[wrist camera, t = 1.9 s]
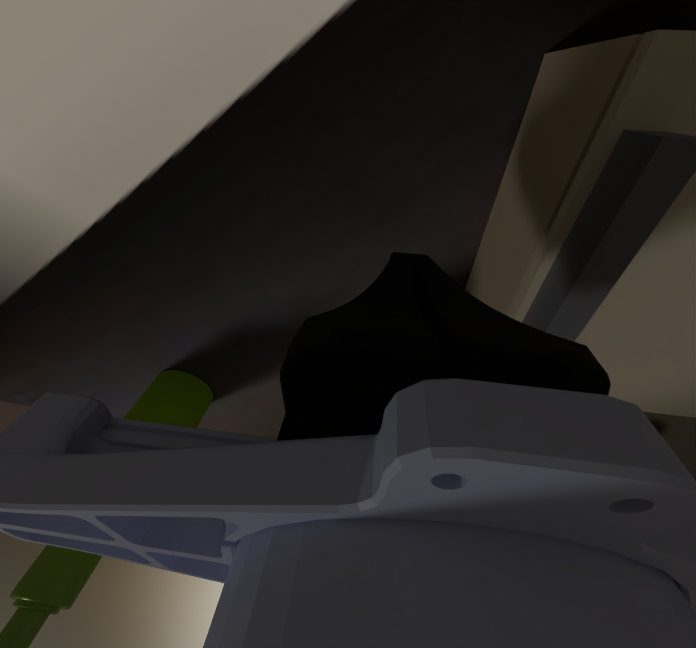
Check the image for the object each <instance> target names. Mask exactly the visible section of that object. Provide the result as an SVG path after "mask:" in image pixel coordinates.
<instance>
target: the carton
mask: <svg viewBox="0 0 696 648" xmlns="http://www.w3.org/2000/svg"><path fill="white" fill-rule="evenodd" d="M643 35H644V34H635V35H631V36H626V37H621V38H616V39H612V40H607V41H602V42H597V43H593V44H588V45H583V46H579V47H574V48H569V49H564V50H560V51H555V52H550V53H545V55H544V58H543V61H542V64H541V67H540V70H539V73H538V76H537V79H536V82H535V85H534V88H533V91H532V94H531V97H530V100H529V103H528V105H527V108H526V111H525V114H524V117H523V120H522V123H521V126H520V129H519V132H518V135H517V138H516V141H515V144H514V147H513V150H512V153H511V155H510V158H509V161H508V164H507V167H506V170H505V173H504V176H503V179H502V182H501V185H500V188H499V191H498V194H497V197H496V200H495V203H494V206H493V208H492V211H491V214H490V217H489V220H488V223H487V226H486V229H485V232H484V235H483V238H482V241H481V244H480V247H479V250H478V253H477V256H476V259H475V261H474V264H473V267H472V270H471V273H470V276H469V279H468V282H467V285H466V288H465V290H466V291H467V292H468V293H470V294H471V295H473V296H474V297H476V298H477V299H479V300H480V301H482V302H483V303H485V304H486V305H488V306H490V307H492V308H493V309H495V310H497V311H499V312H501V313H503V314H505V315H507V316H508V315H509V313H510V311H511V309H512V307H513V305H514V303H515V301H516V299H517V297H518V295H519V292H520V290H521V288H522V286H523V284H524V282H525V280H526V278H527V276H528V274H529V272H530V270H531V268H532V265H533V263H534V261H535V259H536V257H537V255H538V253H539V251H540V249H541V247H542V245H543V243H544V241H545V238H546V236H547V234H548V232H549V230H550V228H551V226H552V224H553V222H554V220H555V218H556V216H557V214H558V212H559V209H560V207H561V205H562V203H563V201H564V199H565V197H566V195H567V193H568V191H569V189H570V187H571V185H572V182H573V180H574V178H575V176H576V174H577V172H578V170H579V168H580V166H581V164H582V162H583V160H584V158H585V156H586V153H587V151H588V149H589V147H590V145H591V143H592V141H593V139H594V137H595V135H596V133H597V131H598V129H599V126H600V124H601V122H602V120H603V118H604V116H605V114H606V112H607V110H608V108H609V106H610V104H611V102H612V99H613V97H614V95H615V93H616V91H617V89H618V87H619V85H620V83H621V81H622V79H623V77H624V75H625V73H626V70H627V68H628V66H629V64H630V62H631V60H632V58H633V56H634V54H635V52H636V50H637V48H638V46H639V43H640V41H641V39H642V37H643Z"/></svg>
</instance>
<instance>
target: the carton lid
mask: <svg viewBox="0 0 696 648" xmlns="http://www.w3.org/2000/svg"><path fill="white" fill-rule="evenodd" d="M508 316H509V317H511V318H513V319H515V320H517V321H519V322H522V323H524V324H526V325H529V326H531V327H534V328H536V329H539V330H541V331H544V332H546V333H549V334H552V335H555V336H558V337H561V338H564V339H567V340H571V341H574V342H577V343H580V344H583V345H586V346H587V347H588V348H589V349H590V351H591V352H592V354H593V355H594V356H595V358H596V359H597V360H598V362H599V363H600V364H601V366H602V367H603V368H604V370H605V371H606V372H607V374H608V376H609V380H610V383H611V386H610V391H609V395H608V396H611V397H614V398H617V399H620V400H623V401H626V402H630V403H633V404H636V405H638V407H639V408H640V409H641V410H642V412H651V413H660V414H669V415H678V416H686V417H695V418H696V31H687V30H654V31H650V32H645V33H644V35H643V37H642V39H641V41H640V43H639V46H638V48H637V50H636V52H635V54H634V56H633V58H632V60H631V62H630V64H629V66H628V68H627V70H626V73H625V75H624V77H623V79H622V81H621V83H620V85H619V87H618V89H617V91H616V93H615V95H614V97H613V99H612V102H611V104H610V106H609V108H608V110H607V112H606V114H605V116H604V118H603V120H602V122H601V124H600V126H599V129H598V131H597V133H596V135H595V137H594V139H593V141H592V143H591V145H590V147H589V149H588V151H587V153H586V156H585V158H584V160H583V162H582V164H581V166H580V168H579V170H578V172H577V174H576V176H575V178H574V180H573V182H572V185H571V187H570V189H569V191H568V193H567V195H566V197H565V199H564V201H563V203H562V205H561V207H560V209H559V212H558V214H557V216H556V218H555V220H554V222H553V224H552V226H551V228H550V230H549V232H548V234H547V236H546V238H545V241H544V243H543V245H542V247H541V249H540V251H539V253H538V255H537V257H536V259H535V261H534V263H533V265H532V268H531V270H530V272H529V274H528V276H527V278H526V280H525V282H524V284H523V286H522V288H521V290H520V292H519V295H518V297H517V299H516V301H515V303H514V305H513V307H512V309H511V311H510V313H509V315H508Z"/></svg>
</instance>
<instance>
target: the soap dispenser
mask: <svg viewBox="0 0 696 648" xmlns="http://www.w3.org/2000/svg"><path fill="white" fill-rule="evenodd" d="M212 400H213V392H212V390H211V389H210V387H209V386H208V385H207V384H206V383H205V382H204V381H202V380H201V379H199V378H198V377H196V376H194V375H192V374H189V373H187V372H183V371H179V370H166V371H163V372H161V373H160V374H159V375H158V376H157V377H156V379H155V380H154V381H153V382H152V383H151V385H150V386H149V387H148V388H147V390H146V391H145V392H144V393H143V395H142V396H141V397H140V398H139V400H138V401H137V402H136V403H135V404H134V406H133V407H132V408H131V409H130V411H129V412H128V413H127V414H126V416H125V417H124V418H123V419H130V420H138V421H146V422H153V423H161V424H169V425H176V426H184V427H192V428H197V427H198V425H199V423H200V421H201V420H202V418H203V416H204V414H205V413H206V411H207V409H208V407H209V406H210V404H211V402H212ZM101 557H102V556H101V555H97V554H92V553H87V552H82V551H77V550H72V549H67V548H62V547H56V546H51V545H47V546H46V547H45V548H44V550H43V551H42V552H41V554H40V555H39V556H38V558H37V559H36V560H35V562H34V563H33V564H32V566H31V567H30V568H29V570H28V571H27V572H26V574H25V575H24V576H23V578H22V579H21V580H20V582H19V583H18V584H17V586H16V587H15V589H14V590H13V591H12V593H11V594H10V598H13V599H16V601H15V602H14V604H13V606H15V607H19V608H18V609H17V611H16V612H15V614H14V615H13V616H12V618H11V619H10V621H9V622H8V623H7V625H6V626H5V628H4V629H3V630H2V632H1V633H0V648H28V647H29V645H30V644H31V642H32V641H33V639H34V638H35V636H36V635H37V633H38V631H39V630H40V628H41V627H42V625H43V624H44V622H45V621H46V619H47V618H48V616H49V615H50V614H57V613H58V612H59V610H60V609H69V608H70V607H71V606H72V604H73V603H74V601H75V600H76V598H77V596H78V594H79V593H80V591H81V590H82V588H83V587H84V585H85V583H86V582H87V580H88V578H89V577H90V575H91V574H92V572H93V570H94V569H95V567H96V565H97V564H98V562H99V560H100V559H101Z"/></svg>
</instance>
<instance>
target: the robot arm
mask: <svg viewBox="0 0 696 648" xmlns="http://www.w3.org/2000/svg"><path fill="white" fill-rule="evenodd" d="M280 383H281V389H282V394H283V400H284V406H285V412H286V413H285V417H284V420H283V423H282V426H281V429H280V432H279V435H278V438H277V439H276V438H269V437H261V436H253V435H246V434H238V433H230V432H222V431H215V430H207V429H199V428H192V427H184V426H176V425H169V424H161V423H153V422H146V421H138V420H130V419H122V418H115V417H112V415H111V413H110V412H109V410H108V409H107V407H106V406H105V405H104V404H103V403H101V402H100V401H98V400H96V399H94V398H91V397H88V396H81V395H73V394H65V393H57V392H46V393H45V394H44V395H43V396H42V397H41V398H40V399H38V400H37V401H36V402H35V403H34V404H33V405H32V406H31V407H29V408H28V409H27V410H26V411H25V412H24V413H23V414H22V415H20V416H19V417H18V418H17V419H16V420H15V421H14V422H13V423H11V424H10V425H9V426H8V427H7V428H6V429H5V430H3V431H2V432H1V433H0V531H1V532H3V533H5V534H7V535H9V536H12V537H14V538H16V539H18V540H22V541H28V542H34V543H39V544H45V545H51V546H56V547H62V548H67V549H72V550H77V551H82V552H87V553H92V554H97V555H101V556H106V557H110V558H115V559H120V560H124V561H129V562H133V563H138V564H142V565H146V566H151V567H155V568H159V569H164V570H169V571H173V572H177V573H181V574H186V575H190V576H195V577H200V578H203V579H208V580H212V581H217V582H221V583H225V584H224V587H223V590H222V593H221V596H220V599H219V602H218V605H217V607H216V611H215V614H214V617H213V620H212V623H211V626H210V628H209V632H208V634H207V637H206V640H205V643H204V646H203V648H696V481H695V479H694V478H693V477H692V476H691V474H690V473H689V472H688V470H687V469H686V468H685V466H684V465H683V464H682V463H681V461H680V460H679V459H678V457H677V456H676V455H675V453H674V452H673V451H672V450H671V448H670V447H669V446H668V444H667V443H666V442H665V440H664V439H663V438H662V437H661V435H660V434H659V433H658V431H657V430H656V429H655V427H654V426H653V425H652V424H651V422H650V421H649V420H648V418H647V417H646V416H645V414H644V413H643V412H642V410H641V409H640V408H639V407H638V405H636V404H633V403H630V402H626V401H623V400H620V399H617V398H614V397H611V396H608V395H609V391H610V386H611V383H610V380H609V376H608V374H607V372H606V371H605V370H604V368H603V367H602V366H601V364H600V363H599V362H598V360H597V359H596V358H595V356H594V355H593V354H592V352H591V351H590V349H589V348H588V347H587V346H586V345H583V344H580V343H577V342H574V341H571V340H567V339H564V338H561V337H558V336H555V335H552V334H549V333H546V332H544V331H541V330H539V329H536V328H534V327H531V326H529V325H526V324H524V323H522V322H519V321H517V320H515V319H513V318H511V317H509V316H507V315H505V314H503V313H501V312H499V311H497V310H495V309H493V308H492V307H490V306H488V305H486V304H485V303H483V302H482V301H480V300H479V299H477V298H476V297H474V296H473V295H471V294H470V293H468V292H467V291H466V290H464V289H463V288H462V287H461V286H460V285H458V284H457V283H456V282H455V281H454V280H452V279H451V278H450V277H449V276H448V275H447V274H446V273H445V272H444V271H443V270H442V269H441V268H440V267H439V266H438V265H437V264H436V263H435V262H434V261H433V260H432V259H431V258H430V257H428V256H427V255H421V254H409V253H397V252H394V253H392V254H391V255H390V260H389V262H388V263H387V265H386V267H385V268H384V270H383V271H382V273H381V274H380V275H379V276H378V278H377V279H376V280H375V281H374V282H373V283H372V284H371V285H370V286H369V287H368V288H367V289H366V290H365V291H364V292H363V293H361V294H360V295H359V296H357V297H356V298H355V299H353V300H352V301H350V302H348V303H346V304H344V305H342V306H340V307H338V308H336V309H334V310H331V311H328V312H325V313H322V314H319V315H316V316H313V317H309V318H307V319H306V320H305V322H304V323H303V325H302V326H301V328H300V329H299V331H298V332H297V334H296V336H295V337H294V339H293V341H292V343H291V345H290V347H289V349H288V351H287V354H286V357H285V359H284V362H283V365H282V367H281V370H280Z"/></svg>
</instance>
